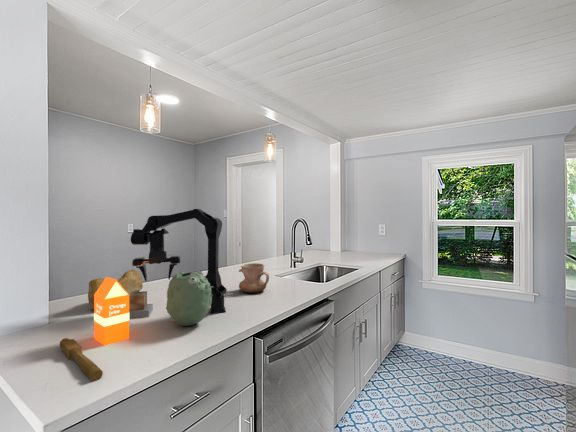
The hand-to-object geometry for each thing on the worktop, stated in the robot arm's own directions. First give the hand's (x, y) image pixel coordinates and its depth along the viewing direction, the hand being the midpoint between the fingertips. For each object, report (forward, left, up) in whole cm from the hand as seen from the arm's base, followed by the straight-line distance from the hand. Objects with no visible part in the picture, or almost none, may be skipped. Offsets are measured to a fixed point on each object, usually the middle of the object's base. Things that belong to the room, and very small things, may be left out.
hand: (157, 280), depth 132 cm
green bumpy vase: (-23, -14, -13) cm, 30 cm away
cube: (-5, +7, -10) cm, 13 cm away
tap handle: (-45, +14, -13) cm, 49 cm away
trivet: (-5, +7, -13) cm, 15 cm away
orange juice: (-30, +10, -13) cm, 34 cm away
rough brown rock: (+13, +21, -13) cm, 28 cm away
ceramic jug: (+20, -45, -13) cm, 51 cm away
